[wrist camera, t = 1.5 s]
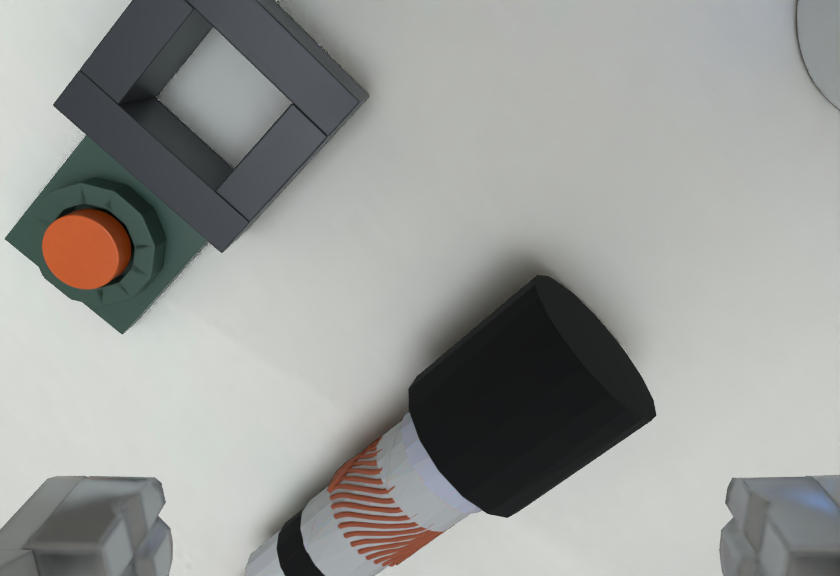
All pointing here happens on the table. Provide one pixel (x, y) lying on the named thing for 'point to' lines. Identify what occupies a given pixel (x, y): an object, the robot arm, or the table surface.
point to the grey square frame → (174, 142)
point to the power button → (86, 248)
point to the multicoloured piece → (473, 438)
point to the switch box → (135, 210)
